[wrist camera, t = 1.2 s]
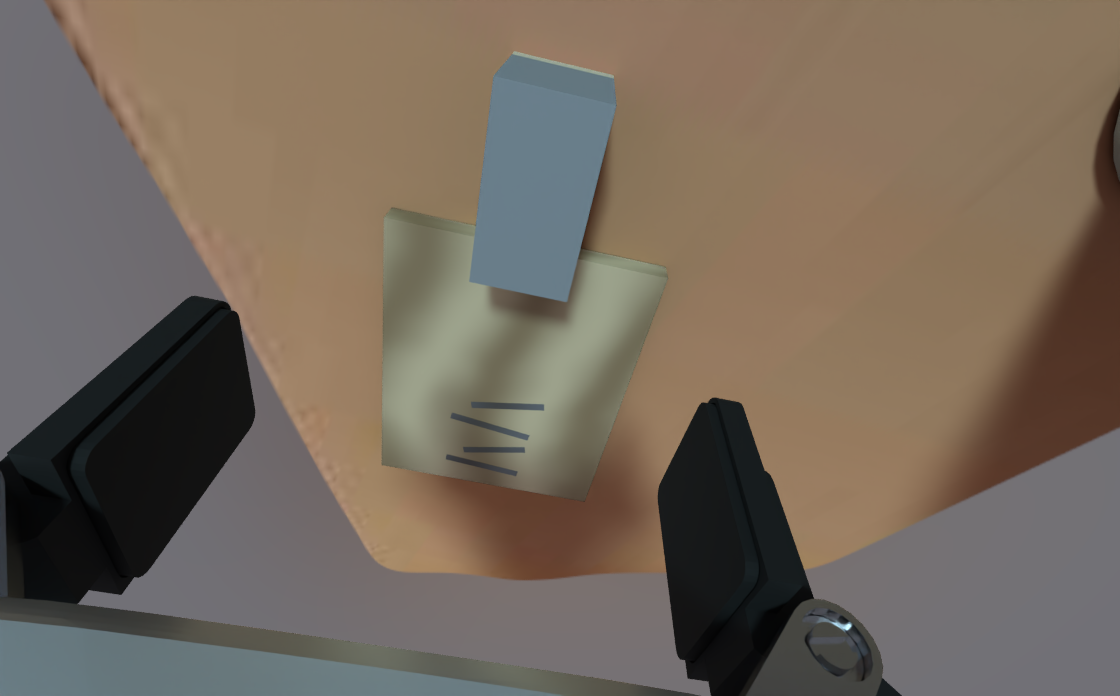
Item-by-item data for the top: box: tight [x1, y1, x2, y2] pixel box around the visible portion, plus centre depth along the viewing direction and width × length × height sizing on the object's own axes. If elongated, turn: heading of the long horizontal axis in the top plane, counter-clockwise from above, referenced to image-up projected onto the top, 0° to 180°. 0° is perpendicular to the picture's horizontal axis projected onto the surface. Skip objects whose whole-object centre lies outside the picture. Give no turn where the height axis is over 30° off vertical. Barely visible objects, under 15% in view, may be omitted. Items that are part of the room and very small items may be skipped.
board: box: [382, 208, 668, 502], centre depth 32 cm, size 14×18×1 cm
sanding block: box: [469, 51, 616, 302], centre depth 23 cm, size 4×8×6 cm, turn 168°
